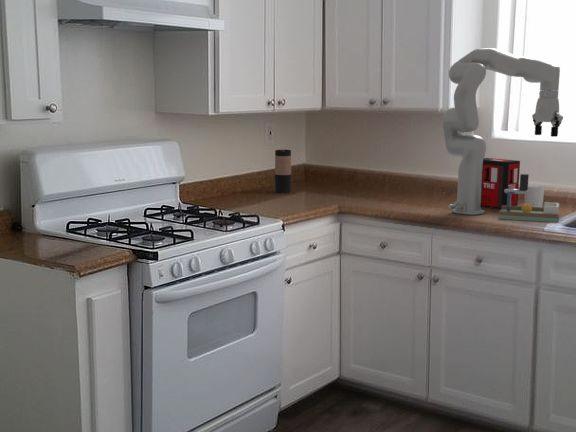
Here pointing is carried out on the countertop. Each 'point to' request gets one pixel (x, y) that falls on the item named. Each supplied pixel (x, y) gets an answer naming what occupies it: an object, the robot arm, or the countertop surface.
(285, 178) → the travel mug
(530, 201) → the white cup
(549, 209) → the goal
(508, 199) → the kicker rod
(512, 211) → the pitch
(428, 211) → the countertop surface
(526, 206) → the ball
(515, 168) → the cleaning product box
